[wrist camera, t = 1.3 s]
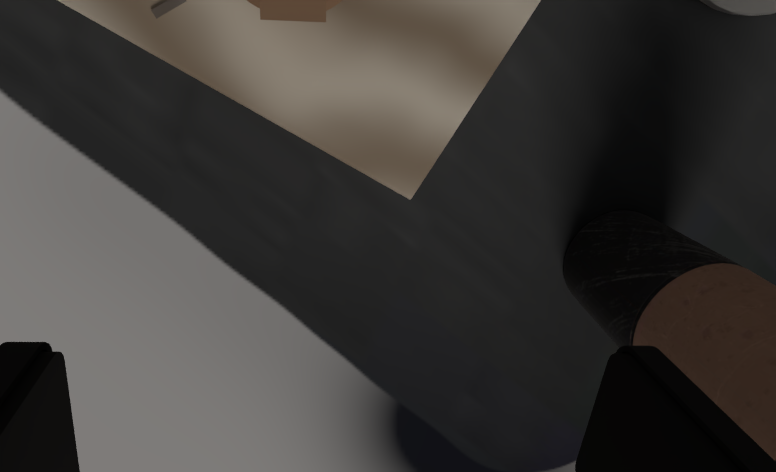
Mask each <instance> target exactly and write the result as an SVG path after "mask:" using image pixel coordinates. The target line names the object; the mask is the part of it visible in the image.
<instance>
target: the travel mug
mask: <svg viewBox="0 0 776 472" xmlns="http://www.w3.org/2000/svg"><path fill="white" fill-rule="evenodd" d="M563 271H564V278H565V281H566V284H567V286H568V288H569V290H570V291H571V293H572V294H573V295H574V297H575V298H576V299H577V300H578V301H579V303H580V304H581V305H582V306H583V307H584V308H585V309H586V311H587V312H588V313H589V314H590V315H591V316H592V317H593V319H594V320H595V321H596V322H597V323H598V324H599V325H600V326H601V328H602V329H603V330H604V331H605V332H606V333H607V334H608V335H609V337H610V338H611V339H612V340H613V341H614V342H615V343H616V345H617V346H618V347H619V348H620V347H622V346H654V347H656V348H658V349H659V350H660V351H661V352H662V353H663V354H664V355H665V356H666V357H667V358H668V359H669V360H671V361H672V362H673V363H674V364H675V365H676V366H677V367H678V368H679V369H680V370H681V371H682V372H683V373H684V374H685V375H686V376H687V377H688V378H689V379H690V380H691V381H692V382H693V383H694V384H696V385H697V386H698V387H699V388H700V389H701V390H702V391H703V392H704V393H705V394H706V395H707V396H708V397H709V398H710V399H711V400H712V401H713V402H714V403H715V404H716V405H717V406H718V407H719V408H720V409H722V410H723V411H724V412H725V413H726V414H727V415H728V416H729V417H730V418H731V419H732V420H733V421H734V422H735V423H736V424H737V425H738V426H739V427H740V428H741V429H742V430H743V431H744V432H745V433H747V434H748V435H749V436H750V437H751V438H752V439H753V440H754V441H755V442H756V443H757V444H758V445H759V446H760V447H761V448H762V449H763V450H764V451H765V452H766V453H767V454H768V455H769V456H770V457H772V458H773V459H774V460H775V461H776V286H775V285H773V284H771V283H770V282H768V281H766V280H765V279H763V278H761V277H760V276H758V275H756V274H755V273H753V272H751V271H750V270H748V269H746V268H744V267H742V266H741V265H739V264H737V263H735V262H733V261H731V260H730V259H728V258H726V257H724V256H722V255H720V254H718V253H716V252H715V251H713V250H711V249H709V248H707V247H705V246H703V245H701V244H700V243H698V242H696V241H694V240H692V239H690V238H688V237H687V236H685V235H683V234H681V233H679V232H677V231H675V230H673V229H672V228H670V227H668V226H666V225H664V224H662V223H660V222H658V221H656V220H654V219H652V218H650V217H649V216H646V215H644V214H642V213H639V212H635V211H629V210H618V211H612V212H609V213H606V214H603V215H601V216H599V217H597V218H595V219H593V220H592V221H591V222H589V223H588V224H587V225H585V226H584V227H583V228H582V229H581V230H580V231H579V232H578V233H577V235H576V236H575V237H574V239H573V240H572V242H571V244H570V245H569V247H568V250H567V252H566V255H565V259H564V268H563Z"/></svg>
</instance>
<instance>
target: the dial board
mask: <svg viewBox="0 0 776 472" xmlns="http://www.w3.org/2000/svg"><path fill="white" fill-rule="evenodd" d="M58 1H60V2H61V3H63V4H65V5H67V6H68V7H70V8H72V9H74V10H75V11H77V12H79V13H81V14H83V15H84V16H86V17H88V18H90V19H91V20H93V21H95V22H97V23H98V24H100V25H102V26H104V27H106V28H107V29H109V30H111V31H113V32H114V33H116V34H118V35H120V36H121V37H123V38H125V39H127V40H129V41H130V42H132V43H134V44H136V45H137V46H139V47H141V48H143V49H144V50H146V51H148V52H150V53H152V54H153V55H155V56H157V57H159V58H160V59H162V60H164V61H166V62H167V63H169V64H171V65H173V66H175V67H176V68H178V69H180V70H182V71H183V72H185V73H187V74H189V75H190V76H192V77H194V78H196V79H198V80H199V81H201V82H203V83H205V84H206V85H208V86H210V87H212V88H213V89H215V90H217V91H219V92H221V93H222V94H224V95H226V96H228V97H229V98H231V99H233V100H235V101H236V102H238V103H240V104H242V105H244V106H245V107H247V108H249V109H251V110H252V111H254V112H256V113H258V114H259V115H261V116H263V117H265V118H267V119H268V120H270V121H272V122H274V123H275V124H277V125H279V126H281V127H282V128H284V129H286V130H288V131H290V132H291V133H293V134H295V135H297V136H298V137H300V138H302V139H304V140H305V141H307V142H309V143H311V144H313V145H314V146H316V147H318V148H320V149H321V150H323V151H325V152H327V153H328V154H330V155H332V156H334V157H336V158H337V159H339V160H341V161H343V162H344V163H346V164H348V165H350V166H351V167H353V168H355V169H357V170H359V171H360V172H362V173H364V174H366V175H367V176H369V177H371V178H373V179H374V180H376V181H378V182H380V183H382V184H383V185H385V186H387V187H389V188H390V189H392V190H394V191H396V192H397V193H399V194H401V195H403V196H405V197H406V198H408V199H410V200H411V198H412V197H413V195H414V194H415V192H416V191H417V189H418V188H419V186H420V185H421V183H422V181H423V180H424V178H425V177H426V175H427V174H428V172H429V171H430V169H431V168H432V166H433V165H434V163H435V162H436V160H437V158H438V157H439V155H440V154H441V152H442V151H443V149H444V148H445V146H446V145H447V143H448V142H449V140H450V139H451V137H452V136H453V134H454V132H455V131H456V129H457V128H458V126H459V125H460V123H461V122H462V120H463V119H464V117H465V116H466V114H467V113H468V111H469V110H470V108H471V106H472V105H473V103H474V102H475V100H476V99H477V97H478V96H479V94H480V93H481V91H482V90H483V88H484V87H485V85H486V84H487V82H488V80H489V79H490V77H491V76H492V74H493V73H494V71H495V70H496V68H497V67H498V65H499V64H500V62H501V61H502V59H503V58H504V56H505V54H506V53H507V51H508V50H509V48H510V47H511V45H512V44H513V42H514V41H515V39H516V38H517V36H518V35H519V33H520V32H521V30H522V28H523V27H524V25H525V24H526V22H527V21H528V19H529V18H530V16H531V15H532V13H533V12H534V10H535V9H536V7H537V6H538V4H539V2H540V1H541V0H342V1H341V2H340V3H339V4H337V5H336V6H334V7H333V8H331V9H329V10H327V11H326V22H304V21H280V20H260V8H258V7H256V6H254V5H252V4H251V3H250V2H248V1H247V0H58Z"/></svg>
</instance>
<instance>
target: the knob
mask: <svg viewBox="0 0 776 472" xmlns="http://www.w3.org/2000/svg"><path fill="white" fill-rule="evenodd" d="M247 1H248V2H250V3H251V4H252V5H254V6H256V7H258V8H260V20H280V21H304V22H326V11H327V10H329V9H331V8H333V7H334V6H336V5H337V4H339V3H340V2H341V1H342V0H247Z"/></svg>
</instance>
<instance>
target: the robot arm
mask: <svg viewBox="0 0 776 472" xmlns="http://www.w3.org/2000/svg"><path fill="white" fill-rule="evenodd" d="M700 1H701V2H703V3H704V4H706V5H708V6H709V7H711V8H713V9H714V10H718V11H721V12H724V13H728V14H731V15H746V16H756V15H770V14H774V13H776V0H700ZM575 468H576V469H575V471H576V472H776V461H775V460H774V459H773V458H772V457H770V456H769V455H768V454H767V453H766V452H765V451H764V450H763V449H762V448H761V447H760V446H759V445H758V444H757V443H756V442H755V441H754V440H753V439H752V438H751V437H750V436H749V435H748V434H747V433H745V432H744V431H743V430H742V429H741V428H740V427H739V426H738V425H737V424H736V423H735V422H734V421H733V420H732V419H731V418H730V417H729V416H728V415H727V414H726V413H725V412H724V411H723V410H722V409H720V408H719V407H718V406H717V405H716V404H715V403H714V402H713V401H712V400H711V399H710V398H709V397H708V396H707V395H706V394H705V393H704V392H703V391H702V390H701V389H700V388H699V387H698V386H697V385H696V384H694V383H693V382H692V381H691V380H690V379H689V378H688V377H687V376H686V375H685V374H684V373H683V372H682V371H681V370H680V369H679V368H678V367H677V366H676V365H675V364H674V363H673V362H672V361H671V360H669V359H668V358H667V357H666V356H665V355H664V354H663V353H662V352H661V351H660V350H659V349H658V348H656V347H654V346H622V347H620V348H619V349H618V350H617V352H616V353H615V354H612V355H611V356H610V357H609V360H608V362H607V365H606V369H605V372H604V375H603V378H602V381H601V384H600V388H599V391H598V394H597V397H596V400H595V403H594V407H593V410H592V413H591V416H590V419H589V422H588V425H587V429H586V432H585V435H584V438H583V441H582V444H581V448H580V451H579V454H578V457H577V460H576V465H575ZM0 472H80V471H79V464H78V457H77V449H76V441H75V434H74V426H73V419H72V412H71V404H70V397H69V390H68V382H67V376H66V367H65V360H64V356H63V354H62V353H61V352H52V348H51V346H50V345H49V344H48V343H46V342H5V343H3V344H1V345H0Z"/></svg>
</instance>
